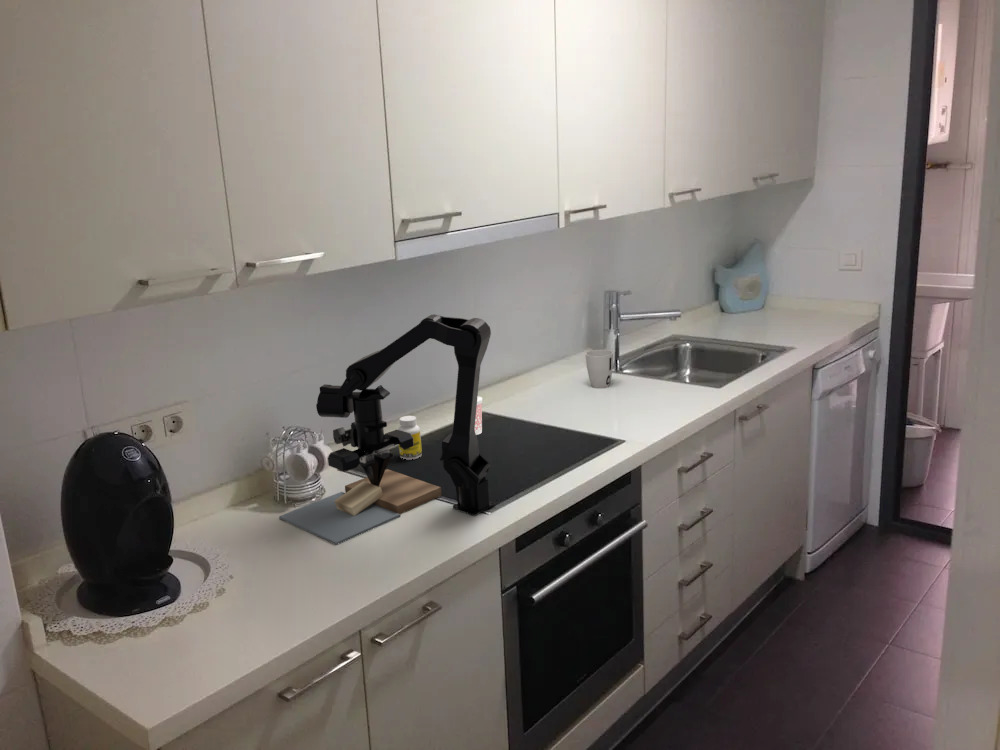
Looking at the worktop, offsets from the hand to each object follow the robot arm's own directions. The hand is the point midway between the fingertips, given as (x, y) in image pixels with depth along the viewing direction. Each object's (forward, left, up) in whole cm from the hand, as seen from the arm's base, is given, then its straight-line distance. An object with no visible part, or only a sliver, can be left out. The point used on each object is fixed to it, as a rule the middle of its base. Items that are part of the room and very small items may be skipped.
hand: (375, 487), depth 191 cm
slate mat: (0, +10, -3) cm, 10 cm away
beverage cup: (+15, -43, -4) cm, 46 cm away
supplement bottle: (+15, -22, -4) cm, 27 cm away
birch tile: (0, +5, -1) cm, 5 cm away
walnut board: (0, -4, -3) cm, 5 cm away
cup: (+13, -94, -4) cm, 95 cm away
